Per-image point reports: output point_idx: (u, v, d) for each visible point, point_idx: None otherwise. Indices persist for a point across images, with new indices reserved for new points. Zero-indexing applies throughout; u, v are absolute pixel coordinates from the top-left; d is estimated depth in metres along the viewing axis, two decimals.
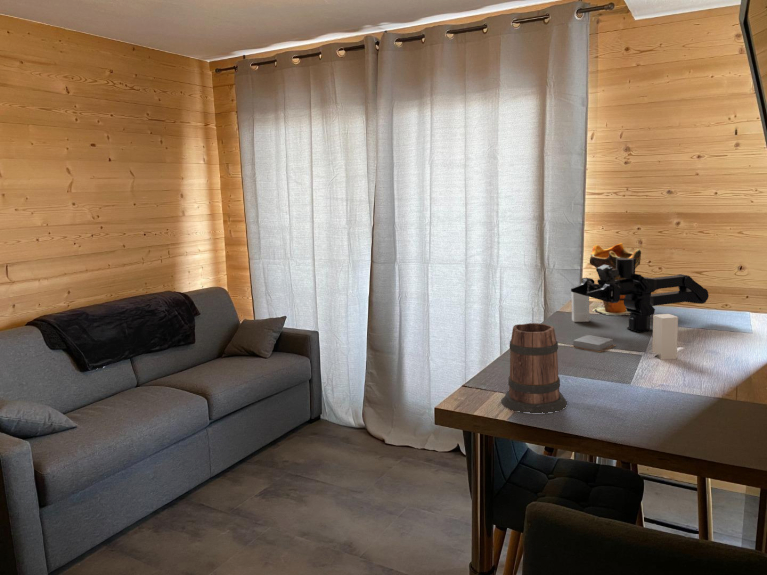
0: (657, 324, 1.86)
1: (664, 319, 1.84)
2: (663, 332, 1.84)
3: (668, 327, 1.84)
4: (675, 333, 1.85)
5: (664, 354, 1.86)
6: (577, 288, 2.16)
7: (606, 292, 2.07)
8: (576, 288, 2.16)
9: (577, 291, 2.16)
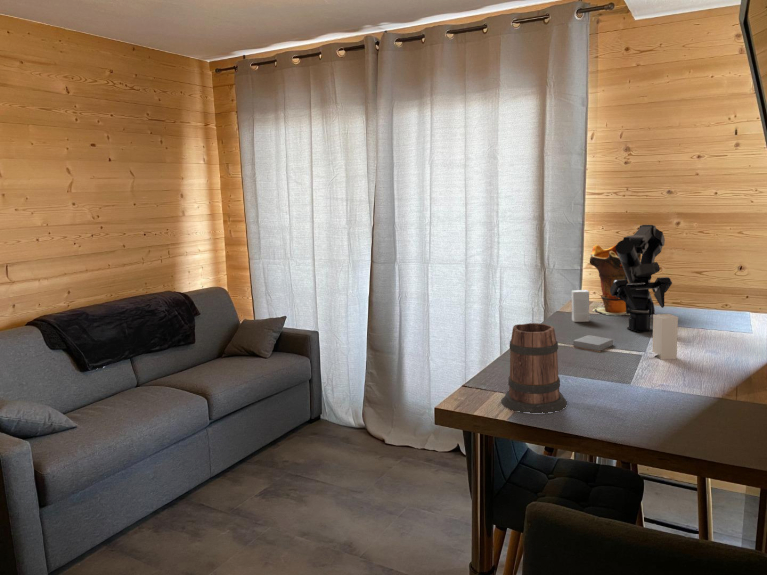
0: (657, 324, 1.86)
1: (664, 319, 1.84)
2: (663, 332, 1.84)
3: (668, 327, 1.84)
4: (675, 333, 1.85)
5: (664, 354, 1.86)
6: None
7: None
8: None
9: None
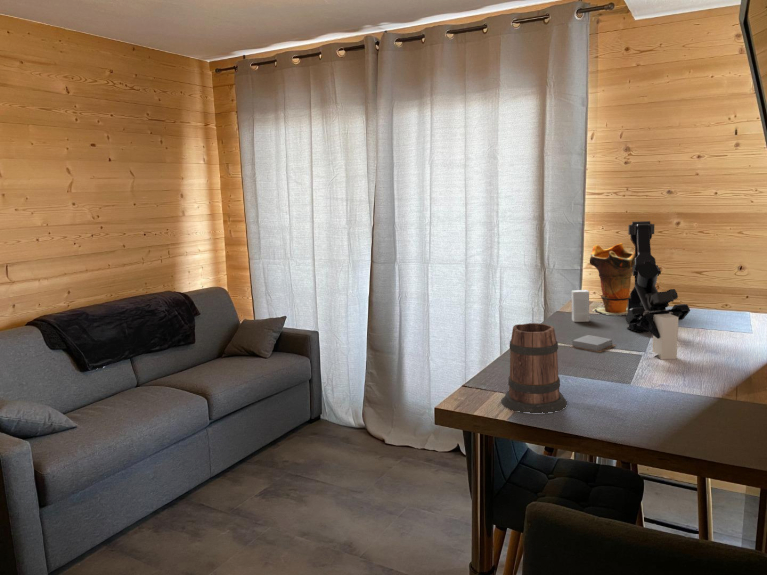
0: (657, 324, 1.86)
1: (664, 319, 1.84)
2: (664, 331, 1.84)
3: (668, 327, 1.84)
4: (675, 333, 1.85)
5: (664, 354, 1.86)
6: None
7: None
8: None
9: None
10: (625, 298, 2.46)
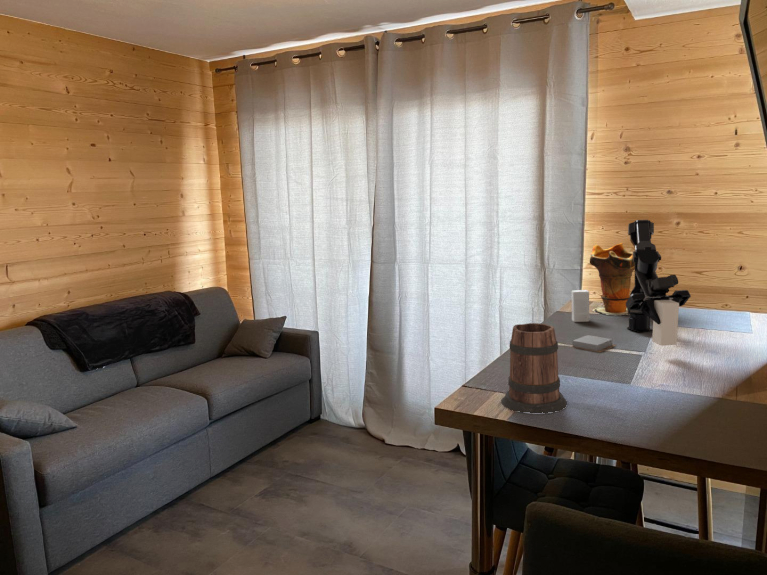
0: (658, 310, 1.86)
1: (665, 305, 1.83)
2: (664, 317, 1.83)
3: (669, 313, 1.83)
4: (676, 319, 1.84)
5: (664, 340, 1.85)
6: None
7: None
8: None
9: None
10: (625, 298, 2.46)
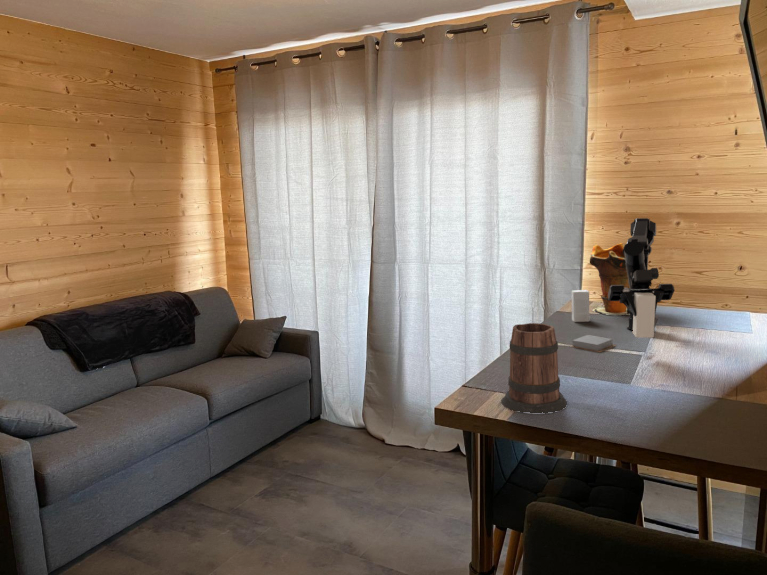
0: (635, 302, 1.88)
1: (640, 297, 1.85)
2: (639, 309, 1.86)
3: (644, 305, 1.85)
4: (652, 312, 1.85)
5: (639, 332, 1.87)
6: None
7: None
8: None
9: None
10: None
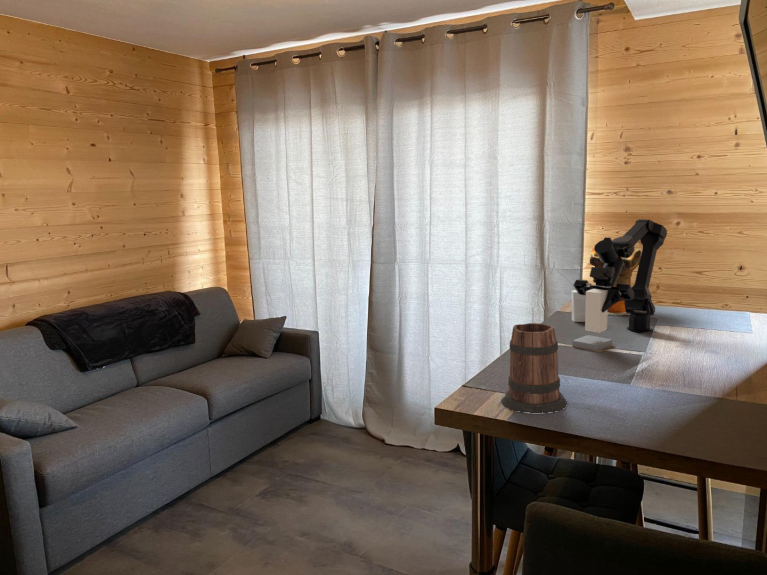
0: None
1: (587, 292, 1.96)
2: (587, 304, 1.96)
3: (591, 301, 1.95)
4: (598, 308, 1.94)
5: (588, 326, 1.98)
6: None
7: (614, 295, 1.95)
8: None
9: None
10: None
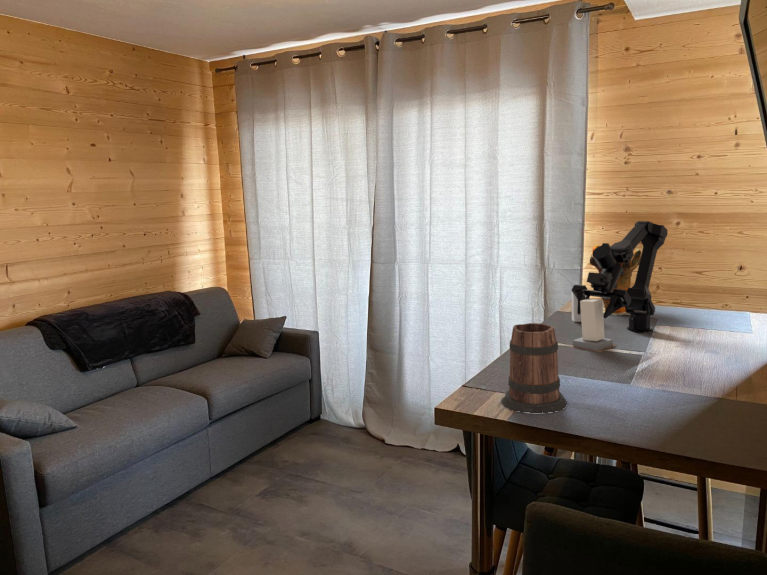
0: None
1: (581, 302, 1.98)
2: (582, 314, 1.99)
3: (586, 310, 1.97)
4: (593, 316, 1.96)
5: (585, 335, 1.99)
6: None
7: (616, 301, 1.95)
8: None
9: None
10: None
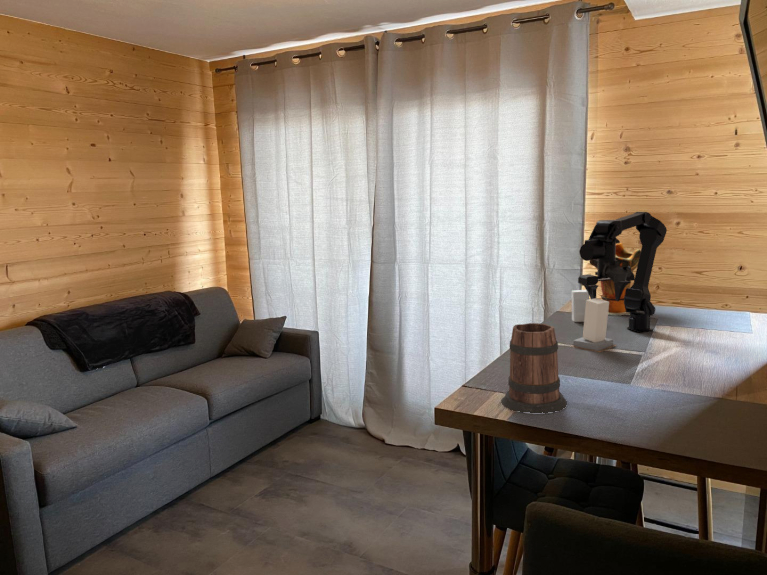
0: None
1: (587, 301, 1.97)
2: (586, 313, 1.98)
3: (590, 310, 1.96)
4: (595, 318, 1.95)
5: (585, 334, 1.99)
6: None
7: None
8: None
9: None
10: None
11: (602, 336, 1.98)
